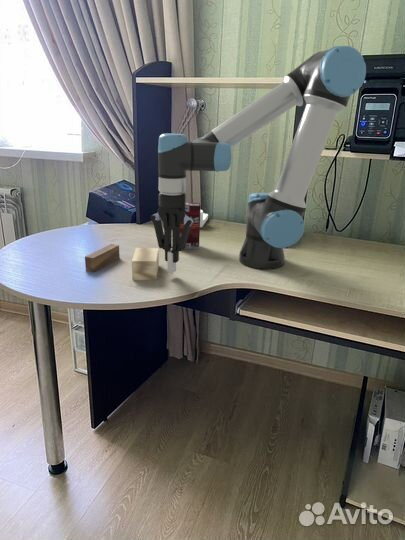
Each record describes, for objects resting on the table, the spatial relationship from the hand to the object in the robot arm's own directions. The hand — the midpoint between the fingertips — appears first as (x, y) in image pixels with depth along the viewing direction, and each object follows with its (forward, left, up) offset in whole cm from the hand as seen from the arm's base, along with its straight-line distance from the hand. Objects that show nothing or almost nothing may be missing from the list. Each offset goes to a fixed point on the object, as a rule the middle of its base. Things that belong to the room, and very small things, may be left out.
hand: (171, 271), depth 124 cm
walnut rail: (+24, 0, -2) cm, 24 cm away
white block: (+19, -61, -2) cm, 64 cm away
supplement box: (+8, -28, -2) cm, 29 cm away
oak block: (+9, 0, -2) cm, 9 cm away
